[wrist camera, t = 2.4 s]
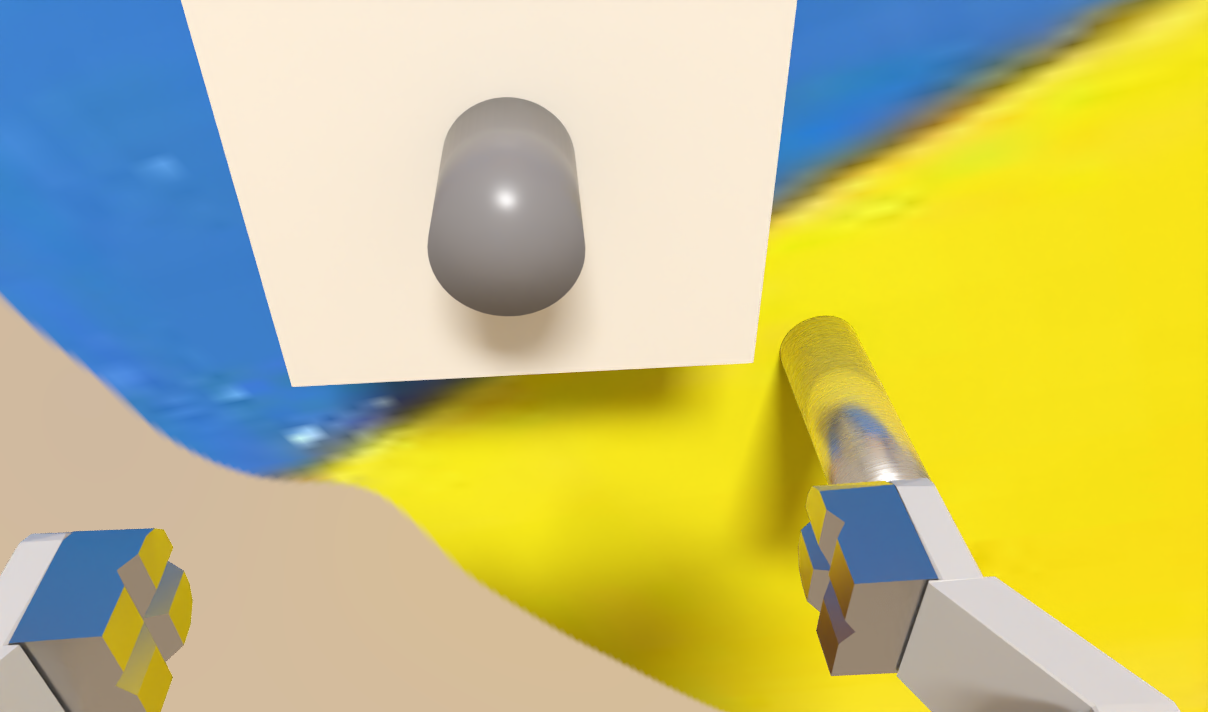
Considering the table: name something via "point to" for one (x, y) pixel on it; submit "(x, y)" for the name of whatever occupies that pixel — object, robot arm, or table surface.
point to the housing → (501, 178)
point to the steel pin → (846, 405)
